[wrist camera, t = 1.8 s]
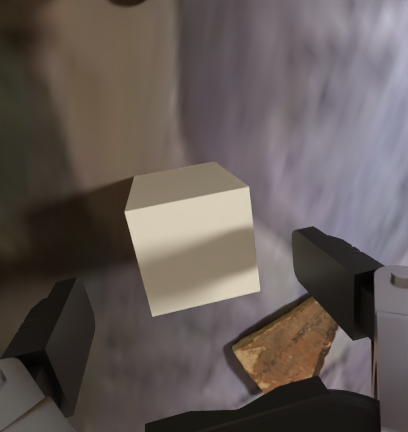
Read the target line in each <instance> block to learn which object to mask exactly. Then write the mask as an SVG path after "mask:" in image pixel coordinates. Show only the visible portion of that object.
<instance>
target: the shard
mask: <svg viewBox="0 0 408 432" xmlns="http://www.w3.org/2000/svg"><path fill="white" fill-rule="evenodd" d="M338 326H339V325H338V324H337V323H336V322H335V321H334V319H333V318H332V317H331V316H330V315H329V314H328V313H327V312H326V311H325V310H324V309H323V307H322V306H321V305H320V304H319V303H318V302H317V301H316V300H315V299H314V298H313V297H312V296H311V297H310V298H309V299H307V300H306V301H304V302H302V303H301V304H300V305H299V306H297V307H295V308H293V309H292V310H291V311H290V312H289V313H288V314H286V315H283V316H282V317H280V318H278V319H277V320H275V321H273V322H271V323H270V324H269V325H267V326H265V327H263V328H262V329H260V330H258V331H256V332H254V333H253V334H251V335H249V336H247V337H245V338H243V339H241V340H240V341H239V342H238V343H237V344H235V345H232V349H233V352H234V353H235V355H236V357H237V358H238V359H239V361H240V362H241V364H242V365H243V367H244V369H245V371H246V372H247V373H248V374H249V375H250V376H251V378H252V379H253V380H254V381H255V382H256V383H257V385H258V386H259V387H260V388H261V390H262V391H263V392H264V394H266V393H268V392H269V391H271V390H273V389H274V388H276V387H278V386H281V385H285V384H288V383H292V382H295V381H299V380H303V379H306V378H310V377H313V376H317V375H319V374H320V371H321V369H322V368H323V365H324V362H325V357H326V355H327V354H328V353H329V350H330V348H331V344H332V342H333V340H334V338H335V335H336V332H337V330H338Z"/></svg>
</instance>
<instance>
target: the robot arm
mask: <svg viewBox="0 0 408 432" xmlns="http://www.w3.org/2000/svg"><path fill="white" fill-rule="evenodd" d="M292 249H293V266H294V272H295V275H296V277H297V279H298V281H299V282H300V283H301V285H302V286H303V287H304V288H305V289H306V290H307V291H308V292H309V293H310V294H311V295H312V297H313V298H314V299H315V300H316V301H317V302H318V303H319V304H320V305H321V306H322V307H323V309H324V310H325V311H326V312H327V313H328V314H329V315H330V316H331V317H332V318H333V319H334V321H335V322H336V323H337V324H338V325H339V326H340V327H341V328H342V329H343V330H344V331H345V333H346V334H347V335H348V336H349V337H350V338H351V339H352V340H353V341H354V340H358V339H362V338H365V337H369V338H370V339H371V397H369V396H366V395H362V394H359V393H355V392H350V391H345V390H335V389H327V388H326V387H325V385H324V384H323V382H322V380H321V379H320V377H319V376H318V375H317V376H313V377H310V378H306V379H303V380H299V381H295V382H292V383H288V384H285V385H281V386H278V387H276V388H274V389H273V390H271V391H269V392H268V393H266V394H264V395H262V396H261V397H259V398H257V399H256V400H254V401H252V402H251V403H249V404H247V405H245V406H244V407H242V408H240V409H237V410H216V411H189V412H185V413H182V414H178V415H175V416H171V417H168V418H164V419H160V420H157V421H153V422H150V423H146V424H145V432H408V267H407V266H400V265H390V266H384V265H382V264H381V263H379V262H378V261H376V260H374V259H373V258H371V257H370V256H368V255H366V254H365V253H363V252H360V250H359V249H357V248H355V247H352V245H351V244H349V243H347V242H346V241H344V240H343V239H339V238H336V237H333V236H330V235H328V236H327V235H326V234H324V233H323V232H321V231H320V230H318V229H317V228H315V227H313V226H312V227H307V228H303V229H298V230H294V231H293V233H292ZM94 332H95V318H94V313H93V310H92V307H91V304H90V301H89V298H88V295H87V292H86V289H85V287H84V284H83V281H82V279H81V278H80V277H77V278H72V279H68V280H63V281H59V282H56V283H55V285H54V287H53V289H52V291H51V292H50V294H49V296H48V298H45V299H42V300H41V301H40V302H39V303H38V304H37V305H35V306H34V307H33V308H32V309H31V310H30V312H29V313H28V315H27V317H26V318H25V320H24V322H23V323H22V325H21V326H20V328H19V332H17V333H16V334H15V336H14V338H13V339H12V341H11V343H10V344H9V346H8V347H7V349H6V351H5V352H4V354H3V356H2V357H1V359H0V432H75V431H74V429H73V428H72V427H71V425H70V424H69V422H68V421H67V419H66V417H69V416H73V414H74V410H75V406H76V402H77V399H78V395H79V391H80V387H81V383H82V379H83V375H84V371H85V367H86V363H87V359H88V355H89V351H90V347H91V344H92V340H93V336H94Z"/></svg>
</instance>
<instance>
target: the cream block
mask: <svg viewBox="0 0 408 432" xmlns="http://www.w3.org/2000/svg"><path fill="white" fill-rule="evenodd" d="M125 215H126V219H127V223H128V227H129V230H130V234H131V238H132V242H133V245H134V249H135V253H136V257H137V260H138V264H139V268H140V272H141V275H142V279H143V283H144V287H145V290H146V294H147V298H148V302H149V305H150V309H151V313H152V317H153V316H158V315H162V314H166V313H170V312H174V311H178V310H183V309H187V308H191V307H195V306H199V305H204V304H208V303H212V302H216V301H220V300H224V299H229V298H233V297H237V296H241V295H245V294H249V293H254V292H258V291H260V285H259V275H258V266H257V257H256V248H255V239H254V229H253V220H252V211H251V202H250V193H249V186H247V185H246V184H245V183H243V182H242V181H240V180H239V179H238V178H236V177H235V176H234V175H232V174H231V173H230V172H228V171H227V170H226V169H224V168H223V167H222V166H220V165H219V164H218V163H216V162H215V161H213V162H208V163H203V164H198V165H192V166H187V167H182V168H176V169H171V170H166V171H160V172H155V173H150V174H145V175H139V176H134V179H133V183H132V186H131V190H130V194H129V197H128V201H127V204H126V208H125Z"/></svg>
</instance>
